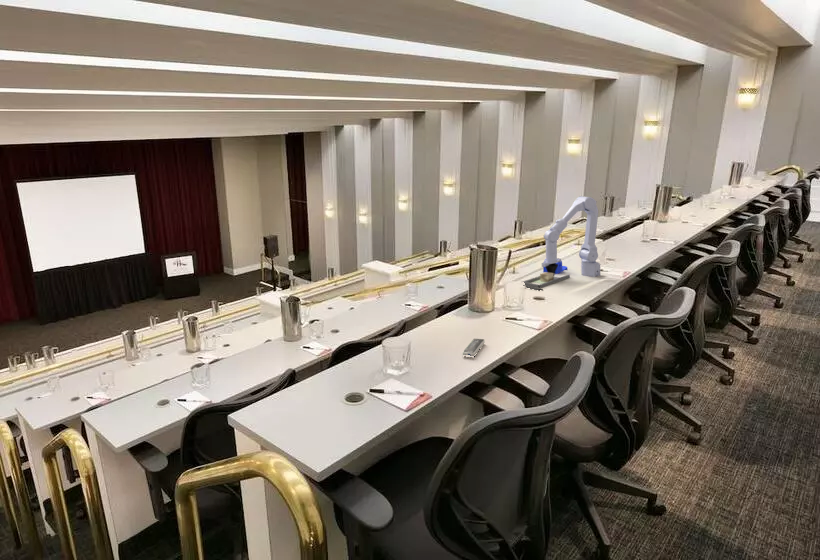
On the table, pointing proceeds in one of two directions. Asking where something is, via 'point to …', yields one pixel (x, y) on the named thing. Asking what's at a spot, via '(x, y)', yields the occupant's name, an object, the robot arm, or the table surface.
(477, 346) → the multiport hub
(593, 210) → the robot arm
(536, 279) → the box
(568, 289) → the table surface
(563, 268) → the bracket
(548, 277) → the block
